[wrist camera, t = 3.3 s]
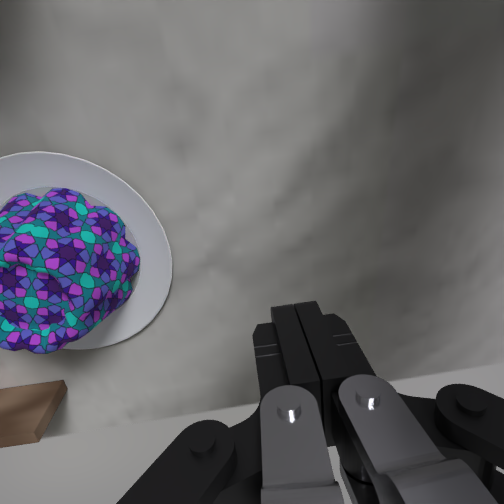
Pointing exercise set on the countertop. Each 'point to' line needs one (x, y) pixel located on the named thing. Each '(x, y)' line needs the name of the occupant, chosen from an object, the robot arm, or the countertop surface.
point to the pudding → (75, 256)
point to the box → (28, 411)
